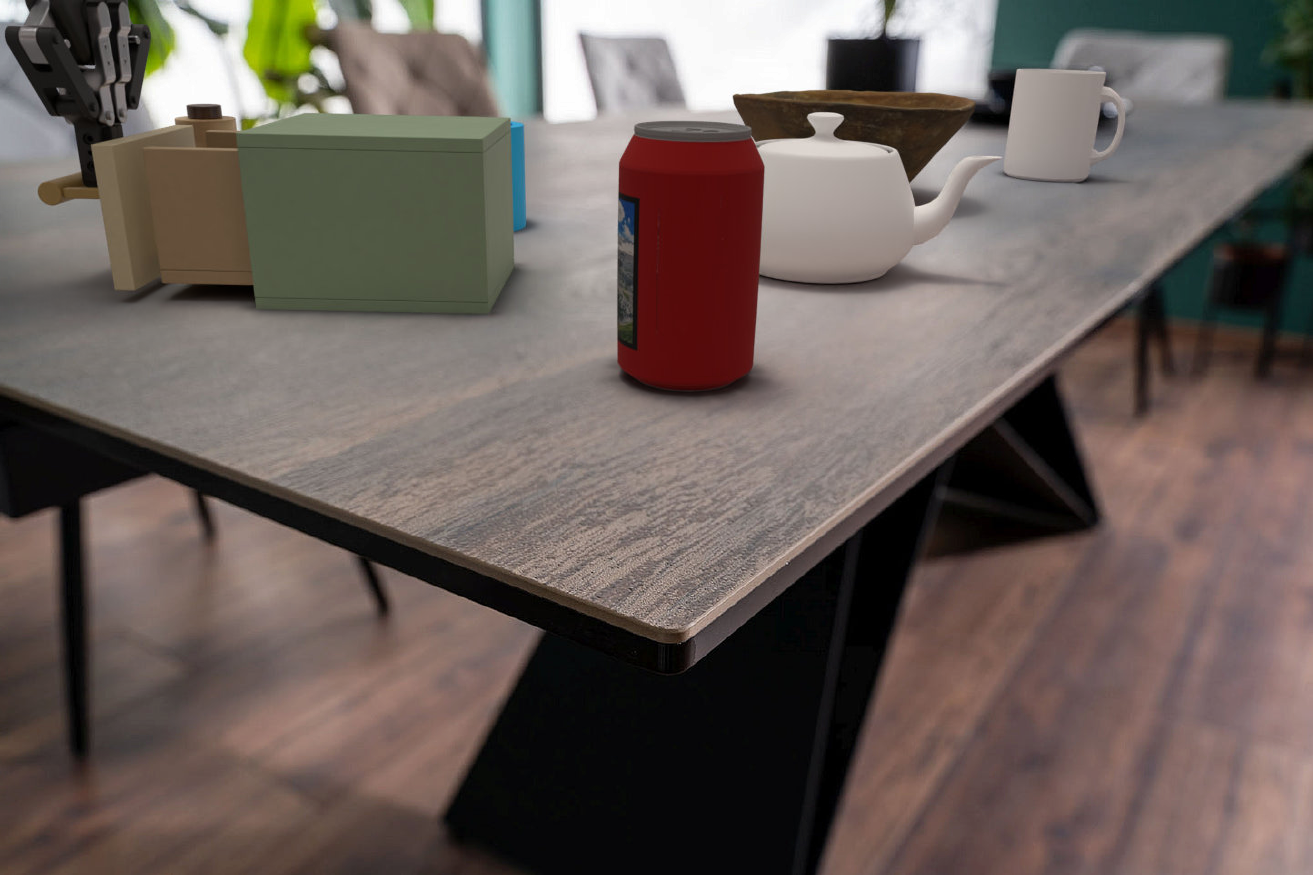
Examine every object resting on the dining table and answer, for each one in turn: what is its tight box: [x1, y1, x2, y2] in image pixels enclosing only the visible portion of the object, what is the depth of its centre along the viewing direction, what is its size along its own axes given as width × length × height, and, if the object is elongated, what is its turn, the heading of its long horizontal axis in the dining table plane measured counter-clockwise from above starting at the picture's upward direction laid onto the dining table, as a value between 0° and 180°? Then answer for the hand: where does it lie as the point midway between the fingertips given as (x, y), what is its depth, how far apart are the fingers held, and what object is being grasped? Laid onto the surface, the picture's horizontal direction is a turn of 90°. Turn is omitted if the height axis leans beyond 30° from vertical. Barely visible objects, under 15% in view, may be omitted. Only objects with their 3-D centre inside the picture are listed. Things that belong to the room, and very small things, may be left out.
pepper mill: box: [174, 103, 238, 148], centre depth 89 cm, size 5×5×9 cm
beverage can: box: [616, 120, 765, 393], centre depth 51 cm, size 7×7×12 cm
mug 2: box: [1003, 68, 1126, 183], centre depth 122 cm, size 10×12×12 cm
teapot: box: [754, 112, 1003, 285], centre depth 74 cm, size 22×14×11 cm, turn 76°
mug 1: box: [510, 120, 527, 232], centre depth 89 cm, size 12×8×8 cm
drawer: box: [37, 124, 253, 291], centre depth 67 cm, size 17×11×8 cm, turn 90°
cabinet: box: [236, 112, 515, 315], centre depth 67 cm, size 14×13×10 cm
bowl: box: [732, 89, 977, 185], centre depth 104 cm, size 22×23×10 cm
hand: (107, 187), depth 67 cm, fingers closed
